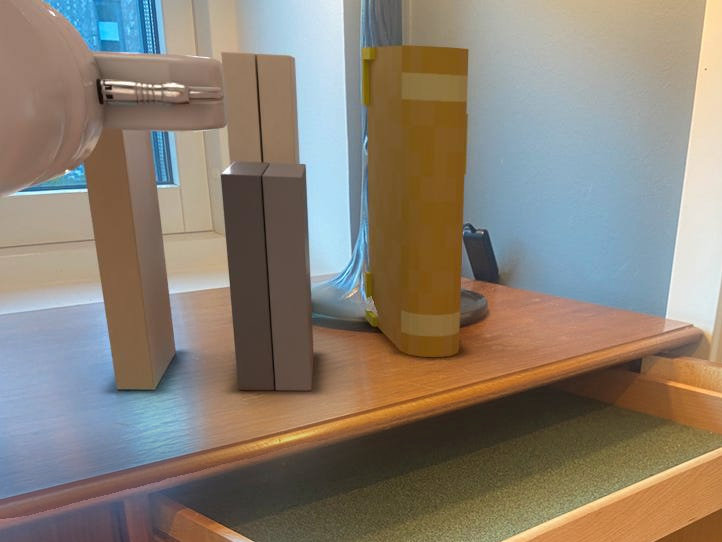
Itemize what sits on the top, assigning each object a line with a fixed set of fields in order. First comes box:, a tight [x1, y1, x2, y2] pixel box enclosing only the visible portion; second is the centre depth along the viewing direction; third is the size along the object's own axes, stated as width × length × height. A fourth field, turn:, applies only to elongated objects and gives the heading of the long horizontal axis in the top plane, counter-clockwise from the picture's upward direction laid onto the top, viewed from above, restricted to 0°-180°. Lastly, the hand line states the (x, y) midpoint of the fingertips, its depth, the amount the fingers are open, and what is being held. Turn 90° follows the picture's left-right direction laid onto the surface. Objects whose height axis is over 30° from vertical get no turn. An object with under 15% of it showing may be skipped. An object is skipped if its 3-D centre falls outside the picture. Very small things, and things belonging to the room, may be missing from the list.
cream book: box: [82, 129, 177, 391], centre depth 77 cm, size 3×12×20 cm, turn 8°
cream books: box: [220, 51, 301, 166], centre depth 100 cm, size 6×14×24 cm, turn 8°
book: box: [360, 44, 470, 358], centre depth 91 cm, size 17×7×25 cm, turn 17°
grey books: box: [220, 161, 315, 392], centre depth 80 cm, size 6×12×16 cm, turn 8°
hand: (71, 86), depth 60 cm, fingers open, 8 cm apart
